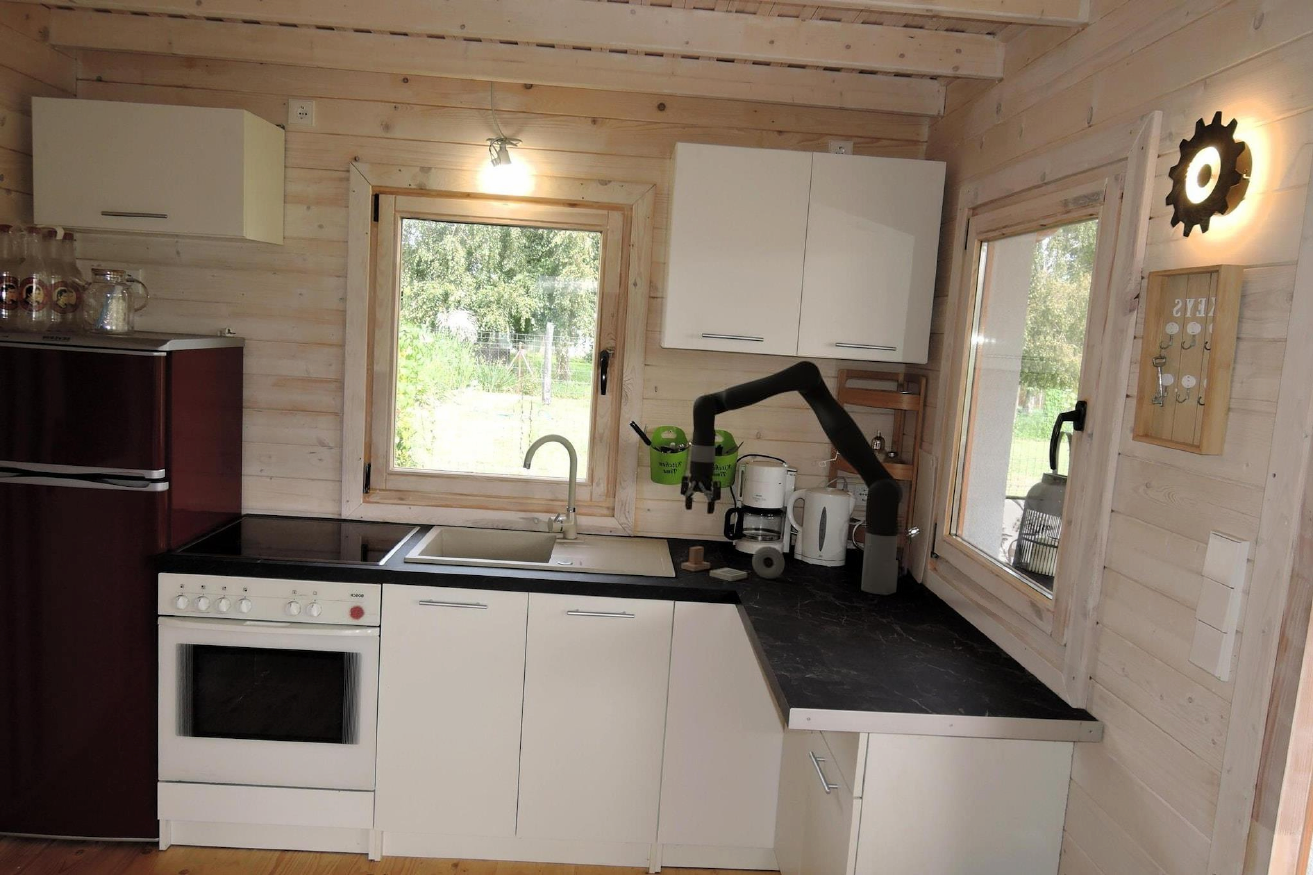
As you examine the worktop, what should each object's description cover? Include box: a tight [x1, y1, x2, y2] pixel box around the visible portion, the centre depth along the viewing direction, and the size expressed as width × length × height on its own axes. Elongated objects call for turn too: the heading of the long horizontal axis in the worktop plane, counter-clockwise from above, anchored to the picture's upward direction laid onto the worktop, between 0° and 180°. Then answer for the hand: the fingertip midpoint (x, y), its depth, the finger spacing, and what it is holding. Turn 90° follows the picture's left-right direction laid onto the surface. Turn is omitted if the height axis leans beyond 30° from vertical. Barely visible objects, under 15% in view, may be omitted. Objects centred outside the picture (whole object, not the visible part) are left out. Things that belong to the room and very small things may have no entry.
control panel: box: [709, 567, 748, 582], centre depth 280 cm, size 8×8×2 cm
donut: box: [751, 545, 786, 580], centre depth 280 cm, size 10×4×10 cm, turn 68°
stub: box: [680, 546, 711, 572], centre depth 289 cm, size 5×8×6 cm, turn 138°
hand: (699, 511), depth 287 cm, fingers open, 8 cm apart
